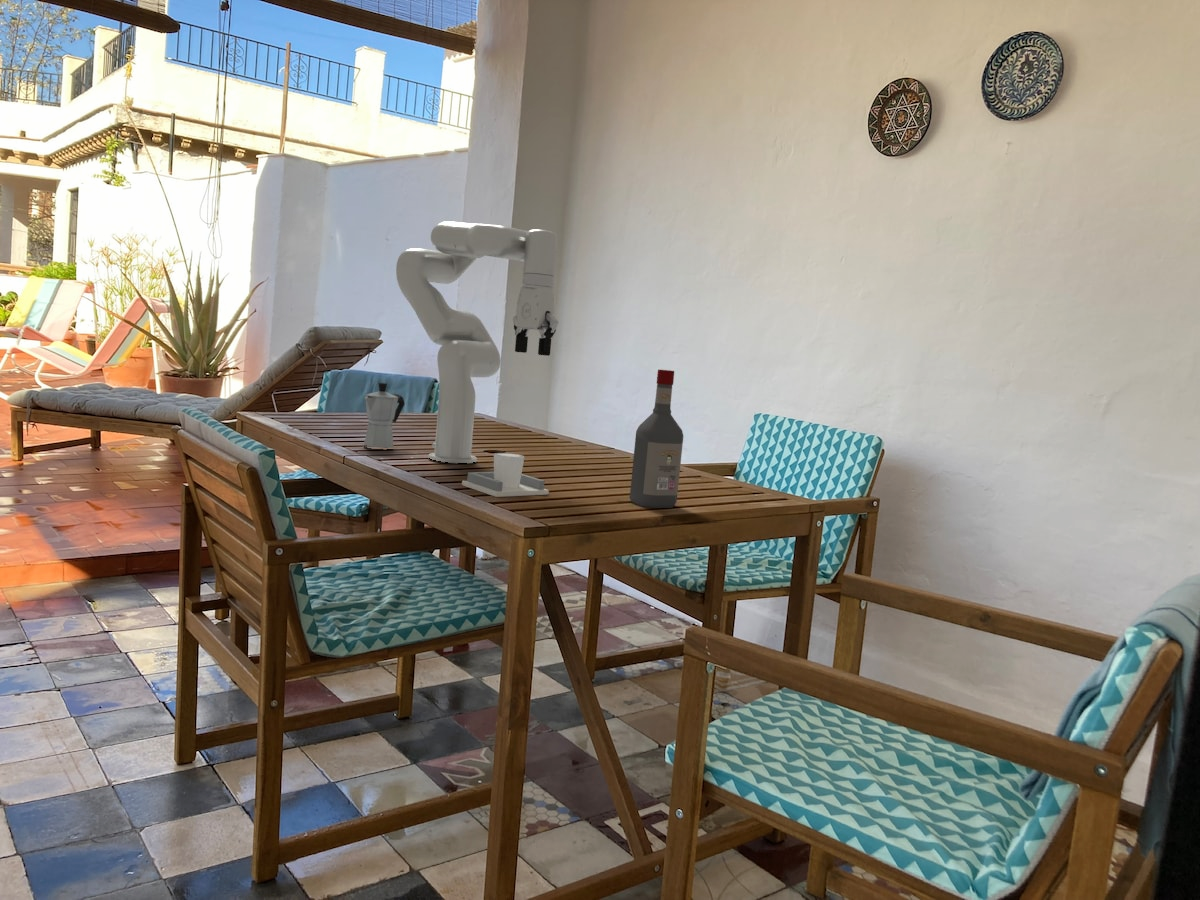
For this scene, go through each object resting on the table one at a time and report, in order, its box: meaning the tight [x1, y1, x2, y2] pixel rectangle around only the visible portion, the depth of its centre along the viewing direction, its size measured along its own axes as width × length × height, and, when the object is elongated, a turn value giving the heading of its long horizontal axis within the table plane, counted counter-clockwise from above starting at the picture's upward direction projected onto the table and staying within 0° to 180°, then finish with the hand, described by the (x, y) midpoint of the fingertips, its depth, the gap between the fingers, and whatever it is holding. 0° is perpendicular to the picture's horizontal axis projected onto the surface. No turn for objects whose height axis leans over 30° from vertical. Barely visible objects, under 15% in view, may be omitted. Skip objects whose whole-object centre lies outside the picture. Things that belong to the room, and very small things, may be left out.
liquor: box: [629, 369, 684, 509], centre depth 208 cm, size 9×9×30 cm
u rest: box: [461, 471, 550, 498], centre depth 211 cm, size 14×14×3 cm
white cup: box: [493, 452, 525, 488], centre depth 210 cm, size 7×7×7 cm
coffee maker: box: [363, 382, 405, 448], centre depth 258 cm, size 15×9×18 cm, turn 148°
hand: (532, 353), depth 228 cm, fingers open, 9 cm apart
